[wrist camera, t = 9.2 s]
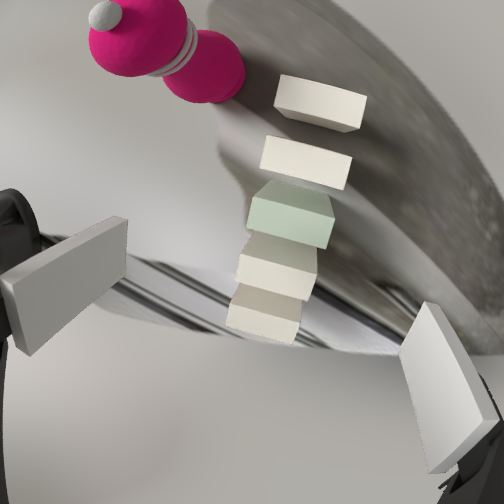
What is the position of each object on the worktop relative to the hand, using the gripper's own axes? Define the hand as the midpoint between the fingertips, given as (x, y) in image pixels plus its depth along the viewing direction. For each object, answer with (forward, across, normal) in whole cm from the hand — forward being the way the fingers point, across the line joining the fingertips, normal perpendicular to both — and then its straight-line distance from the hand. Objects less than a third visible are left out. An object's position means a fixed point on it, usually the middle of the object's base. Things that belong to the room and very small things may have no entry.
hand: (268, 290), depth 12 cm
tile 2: (+20, 0, -4) cm, 21 cm away
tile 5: (+20, 0, +9) cm, 22 cm away
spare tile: (+20, 0, 0) cm, 20 cm away
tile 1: (+20, 0, -9) cm, 22 cm away
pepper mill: (+21, -11, +11) cm, 26 cm away
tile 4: (+20, 0, +4) cm, 21 cm away
